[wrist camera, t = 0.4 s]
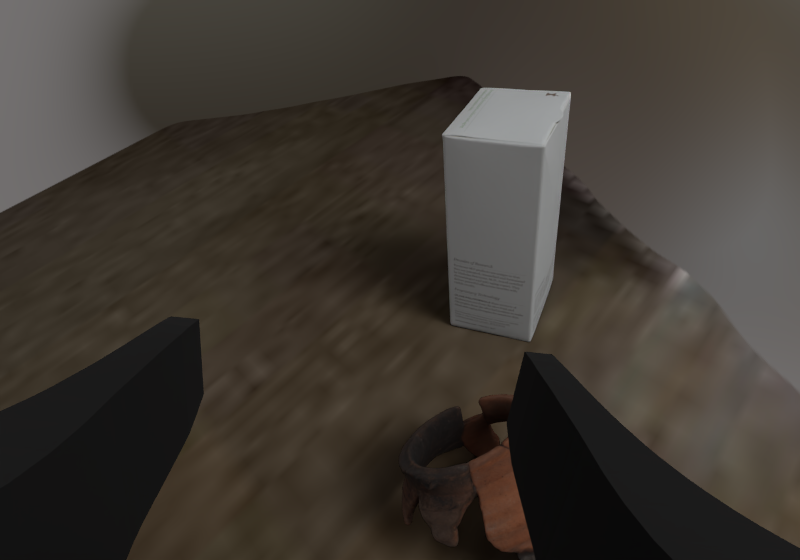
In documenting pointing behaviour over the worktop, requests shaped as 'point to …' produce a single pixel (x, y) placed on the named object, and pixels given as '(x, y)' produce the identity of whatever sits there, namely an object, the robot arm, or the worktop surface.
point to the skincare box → (503, 207)
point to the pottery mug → (466, 478)
